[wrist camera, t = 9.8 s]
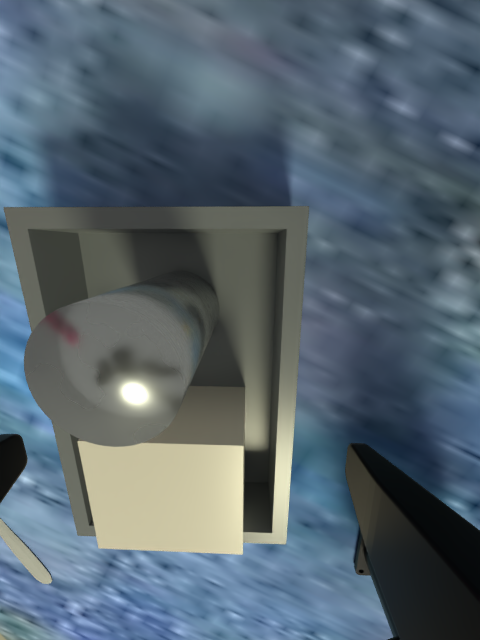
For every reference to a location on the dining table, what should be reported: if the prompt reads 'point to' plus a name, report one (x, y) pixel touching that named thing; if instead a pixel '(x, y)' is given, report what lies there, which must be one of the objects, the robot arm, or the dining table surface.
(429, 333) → the dining table surface
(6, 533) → the butter knife
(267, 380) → the tote
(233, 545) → the cream hollow cover
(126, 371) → the tin
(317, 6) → the dining table surface
